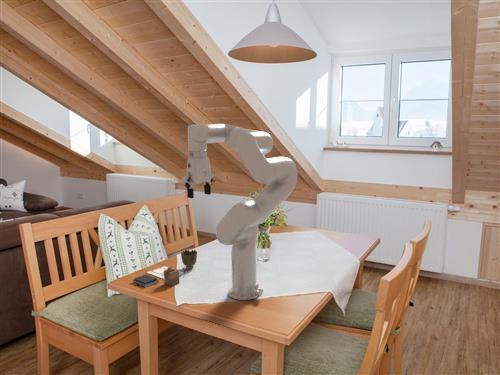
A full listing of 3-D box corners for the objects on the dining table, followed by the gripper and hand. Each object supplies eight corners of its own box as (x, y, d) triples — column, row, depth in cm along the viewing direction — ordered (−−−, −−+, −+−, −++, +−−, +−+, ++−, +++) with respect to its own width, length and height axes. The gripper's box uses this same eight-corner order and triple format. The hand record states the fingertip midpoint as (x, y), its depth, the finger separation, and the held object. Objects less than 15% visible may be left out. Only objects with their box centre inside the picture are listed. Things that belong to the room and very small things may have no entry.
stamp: (179, 283, 178) (178, 267, 177) (171, 286, 175) (170, 270, 173) (172, 281, 181) (171, 265, 180) (164, 284, 177) (163, 268, 176)
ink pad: (159, 282, 179) (158, 278, 179) (145, 287, 174) (145, 283, 174) (146, 277, 185) (146, 273, 185) (132, 282, 180) (132, 278, 180)
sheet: (184, 273, 189) (184, 272, 189) (166, 280, 182) (166, 279, 182) (164, 266, 198) (164, 266, 198) (146, 272, 191) (146, 272, 191)
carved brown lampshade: (199, 265, 199) (198, 249, 198) (195, 271, 192) (195, 254, 190) (183, 265, 200) (183, 249, 198) (179, 271, 192) (179, 254, 191)
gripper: (188, 157, 164) (189, 200, 166) (219, 153, 177) (220, 193, 180) (175, 156, 168) (177, 198, 171) (206, 153, 181) (207, 192, 184)
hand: (199, 196), depth 175 cm, fingers open, 9 cm apart
